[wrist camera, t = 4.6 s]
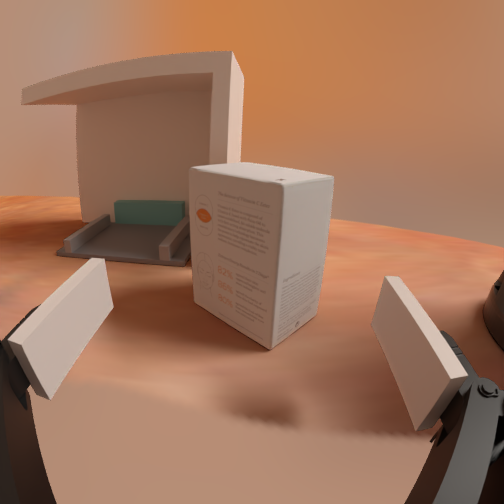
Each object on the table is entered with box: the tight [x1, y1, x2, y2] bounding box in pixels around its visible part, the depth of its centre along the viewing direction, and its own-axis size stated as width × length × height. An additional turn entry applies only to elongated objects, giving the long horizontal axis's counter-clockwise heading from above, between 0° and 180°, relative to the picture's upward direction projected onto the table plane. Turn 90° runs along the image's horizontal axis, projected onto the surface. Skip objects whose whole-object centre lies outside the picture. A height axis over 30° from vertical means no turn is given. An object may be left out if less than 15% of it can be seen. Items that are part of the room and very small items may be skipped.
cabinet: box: [21, 51, 244, 267], centre depth 31 cm, size 14×24×20 cm, turn 87°
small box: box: [189, 162, 334, 350], centre depth 20 cm, size 8×6×10 cm
